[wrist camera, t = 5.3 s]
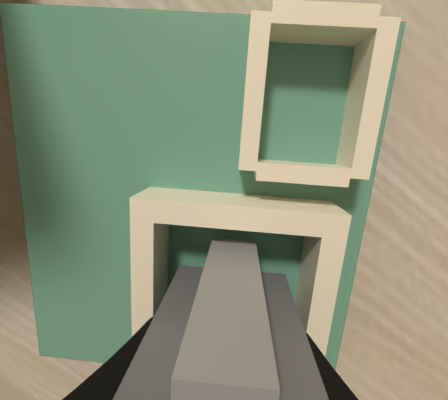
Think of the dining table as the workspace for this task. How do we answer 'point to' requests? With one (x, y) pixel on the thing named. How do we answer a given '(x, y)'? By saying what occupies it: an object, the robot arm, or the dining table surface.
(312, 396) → the plug
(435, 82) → the dining table surface
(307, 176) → the board
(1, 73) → the dining table surface
